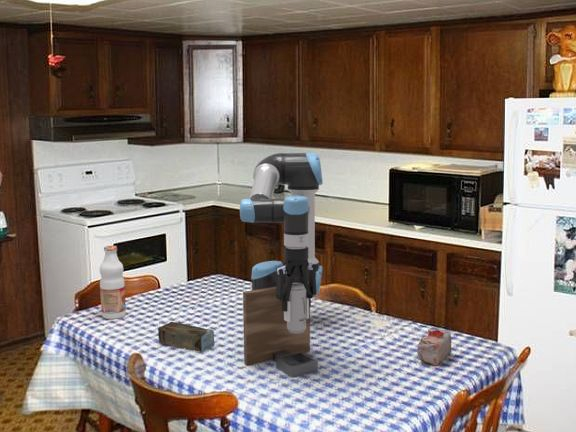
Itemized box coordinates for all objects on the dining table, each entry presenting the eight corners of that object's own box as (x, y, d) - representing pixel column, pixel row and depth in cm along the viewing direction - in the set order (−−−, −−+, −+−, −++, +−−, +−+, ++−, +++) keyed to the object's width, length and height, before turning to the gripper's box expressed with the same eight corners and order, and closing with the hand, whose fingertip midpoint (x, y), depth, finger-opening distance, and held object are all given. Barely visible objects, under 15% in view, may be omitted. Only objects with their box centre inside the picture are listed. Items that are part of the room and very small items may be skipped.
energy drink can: (304, 334, 216) (304, 287, 213) (285, 333, 217) (285, 286, 214) (307, 328, 222) (307, 282, 219) (289, 327, 223) (288, 281, 220)
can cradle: (266, 361, 229) (266, 351, 228) (291, 355, 233) (291, 345, 233) (291, 377, 215) (291, 366, 215) (317, 371, 220) (317, 360, 219)
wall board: (244, 363, 227) (243, 291, 223) (306, 349, 239) (306, 281, 235) (247, 365, 225) (245, 293, 221) (309, 351, 237) (309, 282, 233)
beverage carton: (201, 353, 237) (201, 334, 235) (157, 344, 246) (156, 326, 245) (215, 346, 243) (214, 328, 242) (171, 337, 253) (170, 320, 251)
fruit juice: (98, 315, 278) (94, 246, 273) (120, 310, 284) (117, 243, 279) (107, 321, 271) (103, 250, 266) (129, 316, 276) (126, 247, 271)
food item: (438, 368, 222) (439, 338, 220) (415, 363, 226) (415, 334, 225) (453, 355, 233) (454, 326, 232) (430, 350, 238) (431, 322, 236)
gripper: (275, 252, 207) (276, 327, 211) (328, 245, 217) (328, 317, 220) (263, 247, 213) (264, 320, 217) (315, 241, 223) (315, 311, 227)
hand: (296, 319), depth 219 cm, fingers closed on energy drink can, 6 cm apart
